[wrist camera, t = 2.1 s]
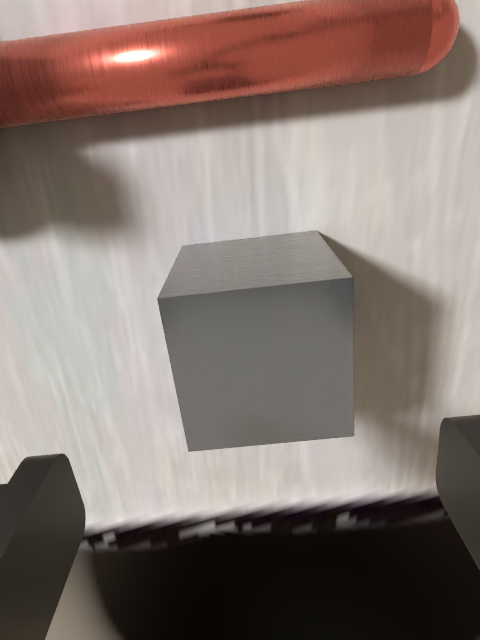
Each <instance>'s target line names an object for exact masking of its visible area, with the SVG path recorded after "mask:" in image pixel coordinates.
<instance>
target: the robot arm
mask: <svg viewBox="0 0 480 640" xmlns="http://www.w3.org/2000/svg"><path fill="white" fill-rule="evenodd" d="M436 484H437V489H438V493H439V496H440V499H441V502H442V504H443V506H444V508H445V510H446V511H447V513H448V515H449V517H450V518H451V520H452V522H453V524H454V525H455V527H456V529H457V531H458V532H459V534H460V536H461V538H462V539H463V541H464V543H465V545H466V547H467V548H468V550H469V552H470V554H471V555H472V557H473V559H474V561H475V563H476V564H477V566H478V568H479V570H480V415H472V416H461V417H451V418H444V419H443V420H442V422H441V427H440V436H439V446H438V457H437V467H436ZM84 529H85V507H84V504H83V501H82V498H81V495H80V492H79V489H78V486H77V483H76V480H75V477H74V474H73V471H72V468H71V465H70V462H69V459H68V457H67V456H66V455H65V454H52V455H42V456H31V457H27V458H25V459H24V460H23V461H22V462H21V464H20V465H19V467H18V468H17V470H16V471H15V473H14V474H13V476H12V478H11V479H10V481H9V482H8V484H1V485H0V640H45V637H46V635H47V632H48V629H49V626H50V624H51V621H52V619H53V616H54V613H55V611H56V608H57V605H58V602H59V600H60V597H61V594H62V592H63V589H64V586H65V583H66V581H67V578H68V575H69V572H70V570H71V567H72V565H73V562H74V559H75V556H76V554H77V551H78V548H79V546H80V543H81V540H82V537H83V534H84Z"/></svg>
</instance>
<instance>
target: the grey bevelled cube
mask: <svg viewBox="0 0 480 640" xmlns="http://www.w3.org/2000/svg"><path fill="white" fill-rule="evenodd" d="M157 300H158V304H159V309H160V314H161V319H162V324H163V329H164V334H165V339H166V344H167V349H168V353H169V358H170V363H171V368H172V373H173V378H174V383H175V388H176V393H177V397H178V402H179V407H180V412H181V417H182V422H183V427H184V432H185V437H186V441H187V446H188V451H189V452H190V451H201V450H212V449H222V448H233V447H244V446H254V445H265V444H276V443H286V442H297V441H308V440H318V439H329V438H340V437H351V436H354V348H353V277H352V275H351V274H350V273H349V271H348V270H347V269H346V268H345V266H344V265H343V264H342V263H341V261H340V260H339V259H338V257H337V256H336V255H335V254H334V252H333V251H332V250H331V248H330V247H329V246H328V245H327V243H326V242H325V241H324V239H323V238H322V237H321V236H320V234H319V233H318V232H317V231H310V232H301V233H292V234H284V235H275V236H266V237H257V238H248V239H240V240H231V241H222V242H213V243H205V244H196V245H187V246H182V248H181V250H180V252H179V254H178V256H177V258H176V260H175V262H174V264H173V267H172V269H171V271H170V273H169V275H168V277H167V279H166V281H165V283H164V285H163V287H162V290H161V292H160V294H159V296H158V298H157Z"/></svg>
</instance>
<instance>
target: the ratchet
mask: <svg viewBox="0 0 480 640" xmlns="http://www.w3.org/2000/svg"><path fill="white" fill-rule="evenodd" d="M458 30H459V11H458V7H457V4H456V2H455V0H305V1H298V2H291V3H283V4H276V5H269V6H261V7H254V8H247V9H239V10H232V11H225V12H217V13H210V14H203V15H195V16H188V17H181V18H173V19H166V20H159V21H151V22H144V23H137V24H129V25H122V26H115V27H107V28H100V29H93V30H85V31H78V32H71V33H63V34H56V35H48V36H41V37H34V38H26V39H19V40H12V41H4V42H0V128H3V127H11V126H19V125H27V124H35V123H43V122H50V121H58V120H66V119H74V118H82V117H90V116H97V115H105V114H113V113H121V112H129V111H137V110H144V109H152V108H160V107H168V106H176V105H184V104H191V103H199V102H207V101H215V100H223V99H231V98H238V97H246V96H254V95H262V94H270V93H278V92H285V91H293V90H301V89H309V88H317V87H325V86H332V85H340V84H348V83H356V82H364V81H372V80H379V79H387V78H395V77H403V76H411V75H417V74H421V73H424V72H426V71H428V70H430V69H432V68H434V67H435V66H436V65H438V64H439V63H440V62H441V61H442V60H443V59H444V58H445V57H446V56H447V54H448V53H449V51H450V50H451V48H452V47H453V45H454V43H455V40H456V37H457V34H458Z"/></svg>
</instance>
